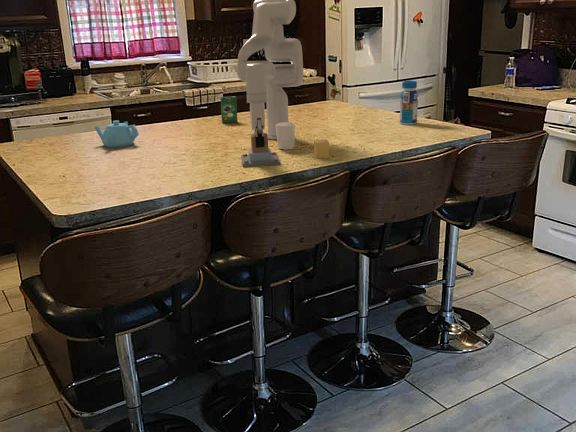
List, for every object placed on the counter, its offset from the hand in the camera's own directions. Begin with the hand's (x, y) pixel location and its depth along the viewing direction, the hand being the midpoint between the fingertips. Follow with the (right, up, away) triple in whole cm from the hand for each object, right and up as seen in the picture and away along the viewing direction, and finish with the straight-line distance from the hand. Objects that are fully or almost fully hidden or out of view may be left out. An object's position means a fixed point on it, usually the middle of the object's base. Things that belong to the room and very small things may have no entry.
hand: (259, 144), depth 229 cm
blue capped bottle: (+69, +17, +63) cm, 94 cm away
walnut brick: (0, -2, +1) cm, 2 cm away
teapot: (-64, +4, +40) cm, 76 cm away
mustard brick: (+24, -4, +6) cm, 25 cm away
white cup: (+10, +1, +22) cm, 24 cm away
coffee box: (-19, +21, +82) cm, 87 cm away
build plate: (0, -6, +2) cm, 6 cm away
